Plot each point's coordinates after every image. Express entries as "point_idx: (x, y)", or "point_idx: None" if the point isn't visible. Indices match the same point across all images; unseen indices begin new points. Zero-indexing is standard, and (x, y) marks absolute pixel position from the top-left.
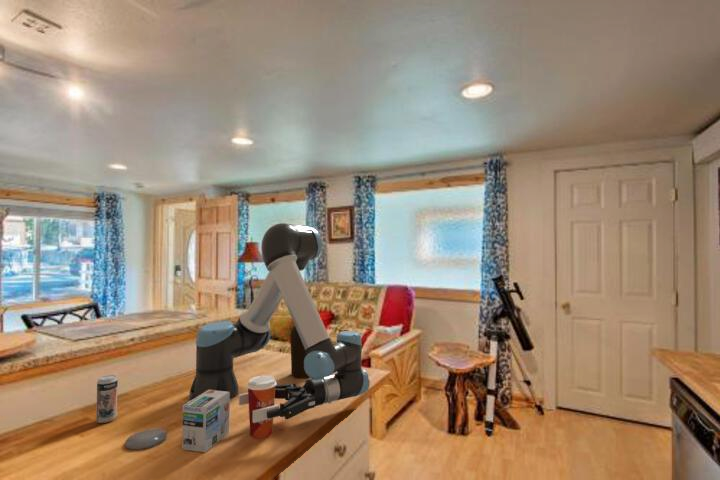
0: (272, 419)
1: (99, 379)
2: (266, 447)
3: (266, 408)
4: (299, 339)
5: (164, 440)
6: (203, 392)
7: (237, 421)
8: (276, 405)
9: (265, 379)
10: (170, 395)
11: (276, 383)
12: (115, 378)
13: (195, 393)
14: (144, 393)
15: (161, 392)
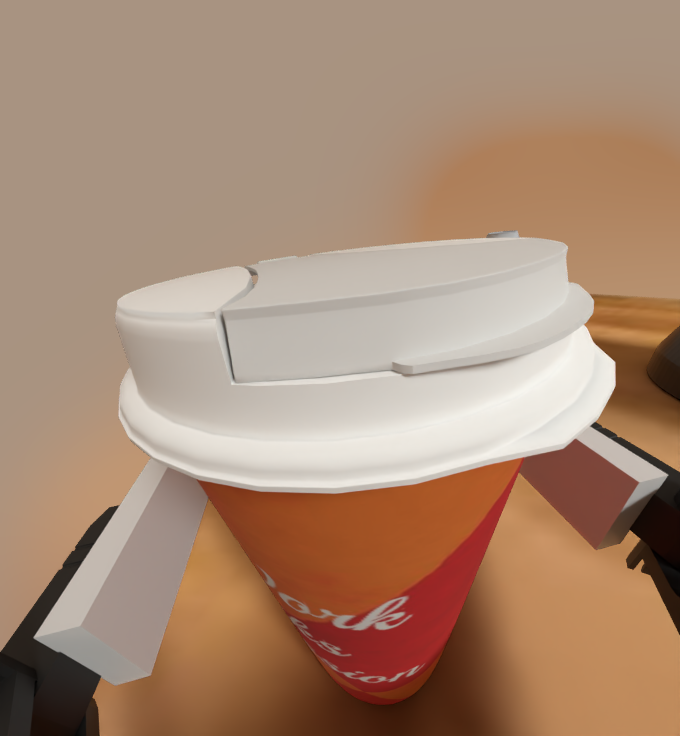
0: (324, 663)
1: (492, 233)
2: (206, 614)
3: (136, 480)
4: None
5: None
6: (678, 344)
7: (524, 485)
8: (78, 596)
9: (325, 267)
10: (669, 330)
11: (237, 473)
12: (506, 235)
13: (666, 339)
14: (644, 308)
15: (676, 319)
